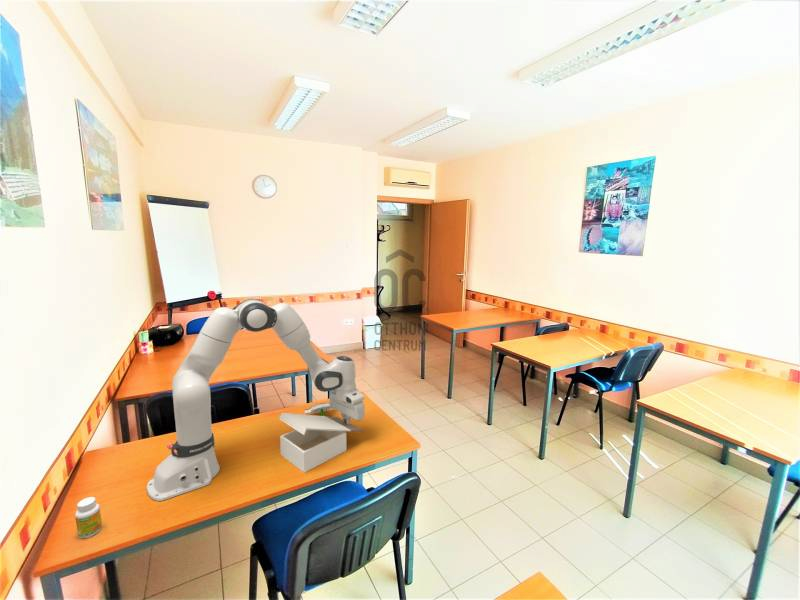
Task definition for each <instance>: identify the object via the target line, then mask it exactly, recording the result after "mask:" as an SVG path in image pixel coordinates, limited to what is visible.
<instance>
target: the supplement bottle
mask: <svg viewBox="0 0 800 600" xmlns="http://www.w3.org/2000/svg"><path fill="white" fill-rule="evenodd" d="M76 505H77V506H76V507H77V510H76V511H75V514H74V516H75V523H76V532H77V537H78V538H79V539H86V538H87V539H88V538H90V537H92V536H94V535H96V534H98V533H99V532H100V531H101V530H102V527H103V524H102V523H103V522H102V515H101V514H102V513H101V506H100V504H99V503H97V501H96V497H94V496H90V497H85V498H83V499H81V500H80V501H79V502H78V503H77V504H76Z"/></svg>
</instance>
